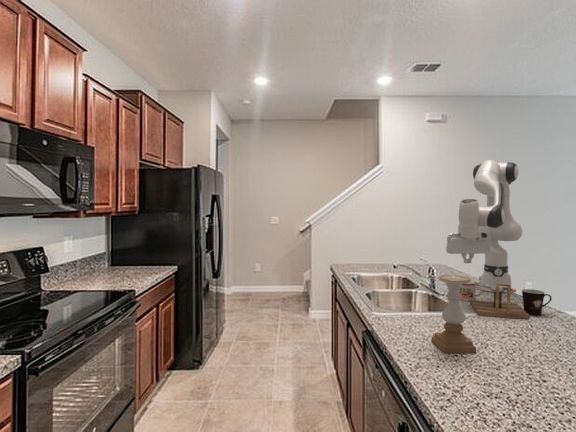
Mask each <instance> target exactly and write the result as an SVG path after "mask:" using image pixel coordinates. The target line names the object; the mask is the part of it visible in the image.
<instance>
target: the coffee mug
mask: <svg viewBox="0 0 576 432" xmlns="http://www.w3.org/2000/svg"><path fill="white" fill-rule="evenodd" d="M521 293H522V294H521V295H522V296H521V297H522V303H523V306H522V307H523V310H524V311H526V312H527V313H528V314H529V316H541V315H542V310H543V307H545V306H547V305H549V303H550V302H551V301H552V295H550V294H548V293H546V292H545V291H543V290H540V289H532V288H530V289H529V288H527V289H525V288H524V289H521ZM546 296H548V297H549V300H548V301H547V302H546V303H544V300H545V299H544V298H545V297H546Z"/></svg>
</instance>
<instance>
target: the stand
mask: <svg viewBox="0 0 576 432" xmlns="http://www.w3.org/2000/svg"><path fill="white" fill-rule="evenodd" d="M499 286H507V292H506V302H504V301H503V299H502V298H503V297H502V295H503V293H502V292H499ZM510 287H511V288H512V284H511V285H510V284H496V292H493V301H489V300H476V299H475V300H470V301H469V305H470V307H471V306H472V307H471V308H472V310H473V309H474V310H475V311H474V310H473V311H474V313H475V312H476V313H477V314H476V313H475V314H476V315H477V316H479V317H490V318H502V319H503V318H505V319H515V320H516V319H517V320H518V319H519V320H530V315H529V314H528V313H527V312H526V311H524V308H522V307H521V306H520V305H519V304H517V302H511V292H510Z"/></svg>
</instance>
